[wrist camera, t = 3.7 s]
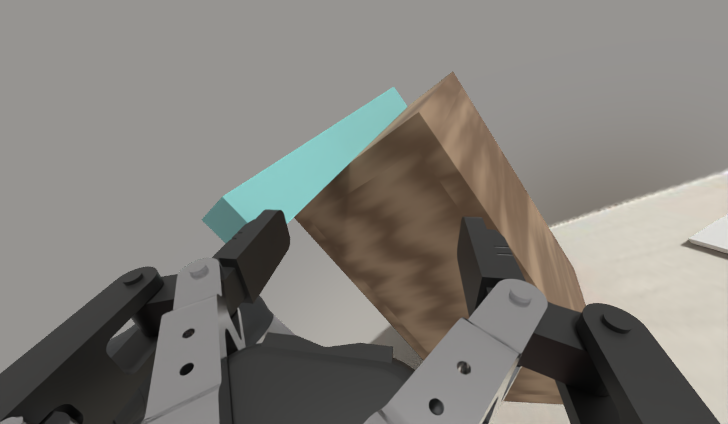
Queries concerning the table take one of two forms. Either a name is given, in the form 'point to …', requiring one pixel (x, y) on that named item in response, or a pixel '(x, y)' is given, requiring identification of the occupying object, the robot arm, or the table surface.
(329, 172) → the rectangular block
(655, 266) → the table surface
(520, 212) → the rack
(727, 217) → the baseboard molding
